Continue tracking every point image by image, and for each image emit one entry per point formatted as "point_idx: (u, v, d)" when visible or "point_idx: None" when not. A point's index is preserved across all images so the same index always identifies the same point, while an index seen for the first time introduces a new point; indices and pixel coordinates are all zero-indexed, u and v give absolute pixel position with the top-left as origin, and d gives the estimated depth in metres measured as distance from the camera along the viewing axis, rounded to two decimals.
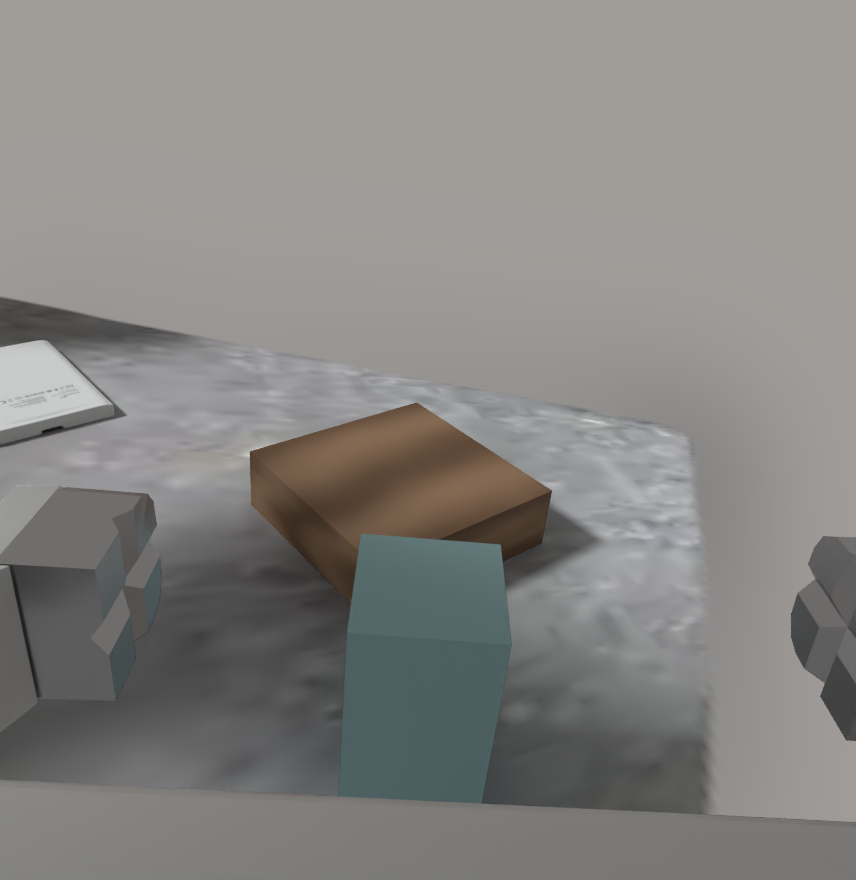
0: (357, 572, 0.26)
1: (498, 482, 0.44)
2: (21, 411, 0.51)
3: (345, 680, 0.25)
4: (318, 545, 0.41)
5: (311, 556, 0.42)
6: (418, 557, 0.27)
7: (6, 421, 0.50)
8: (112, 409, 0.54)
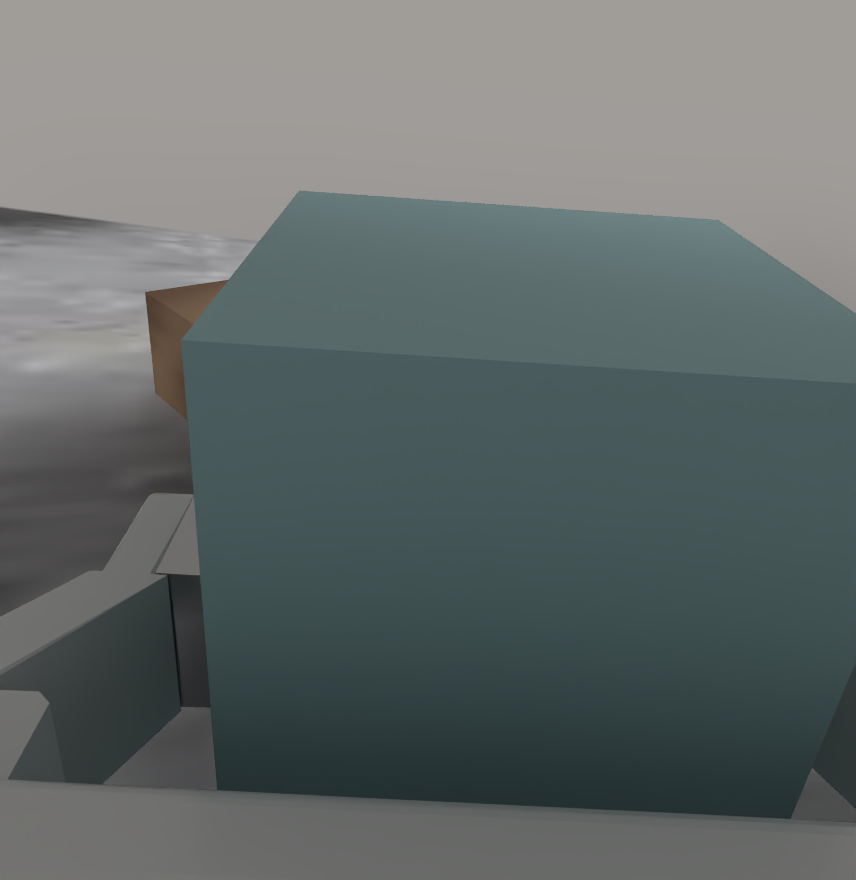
0: (272, 234, 0.07)
1: None
2: None
3: (205, 596, 0.06)
4: None
5: None
6: (478, 224, 0.08)
7: None
8: None
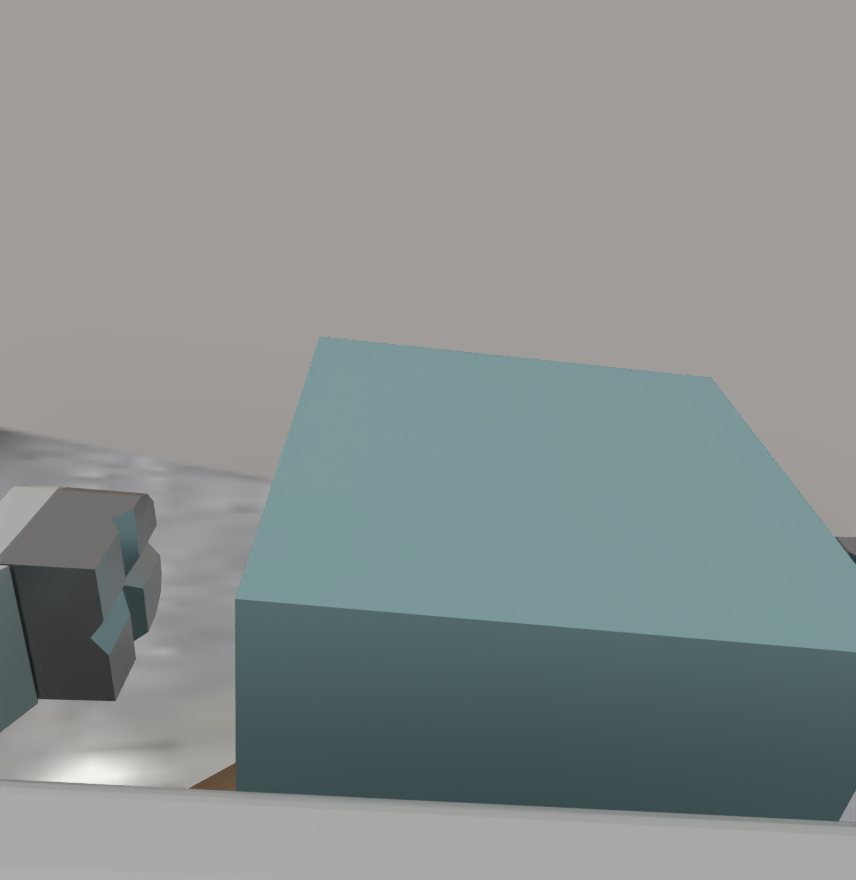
0: (301, 415, 0.08)
1: None
2: None
3: None
4: None
5: None
6: (491, 390, 0.09)
7: None
8: None
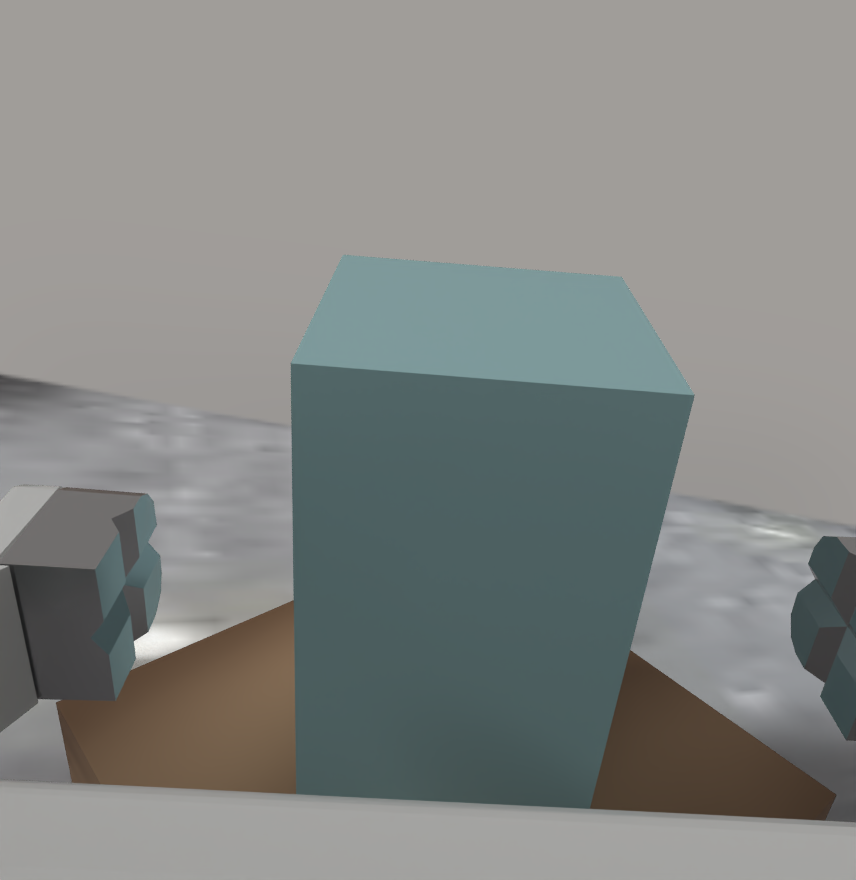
0: (329, 292, 0.12)
1: (693, 772, 0.17)
2: None
3: (294, 500, 0.11)
4: None
5: None
6: (458, 282, 0.13)
7: None
8: None
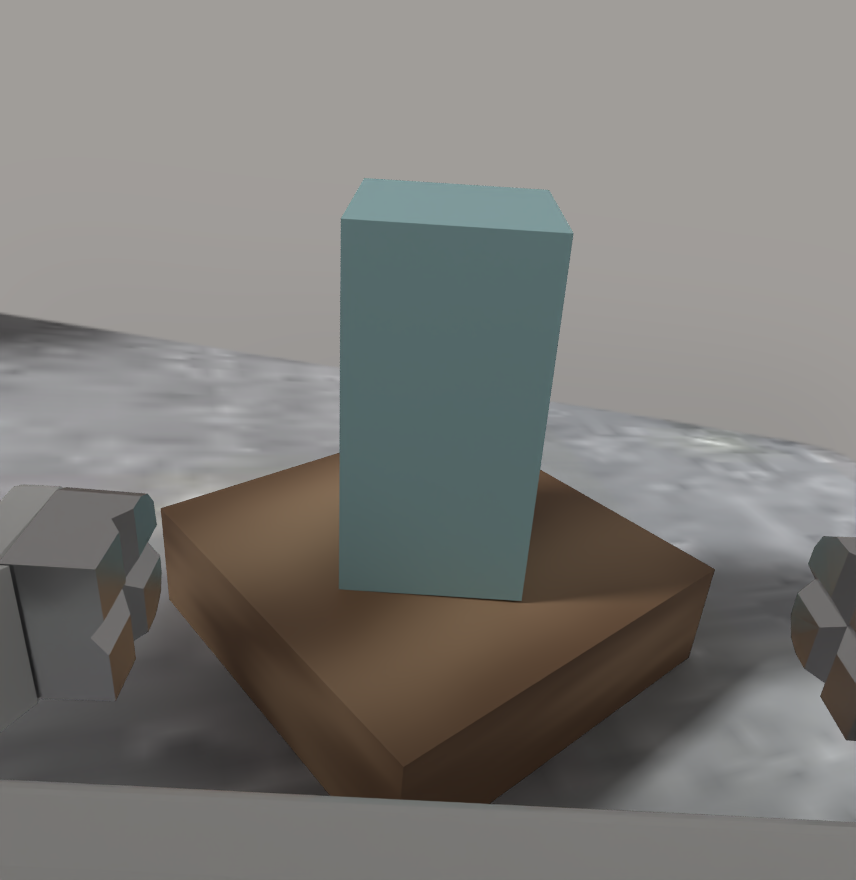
0: (358, 193, 0.20)
1: (615, 555, 0.24)
2: None
3: (341, 308, 0.18)
4: (283, 694, 0.21)
5: (271, 711, 0.22)
6: (440, 190, 0.20)
7: None
8: None
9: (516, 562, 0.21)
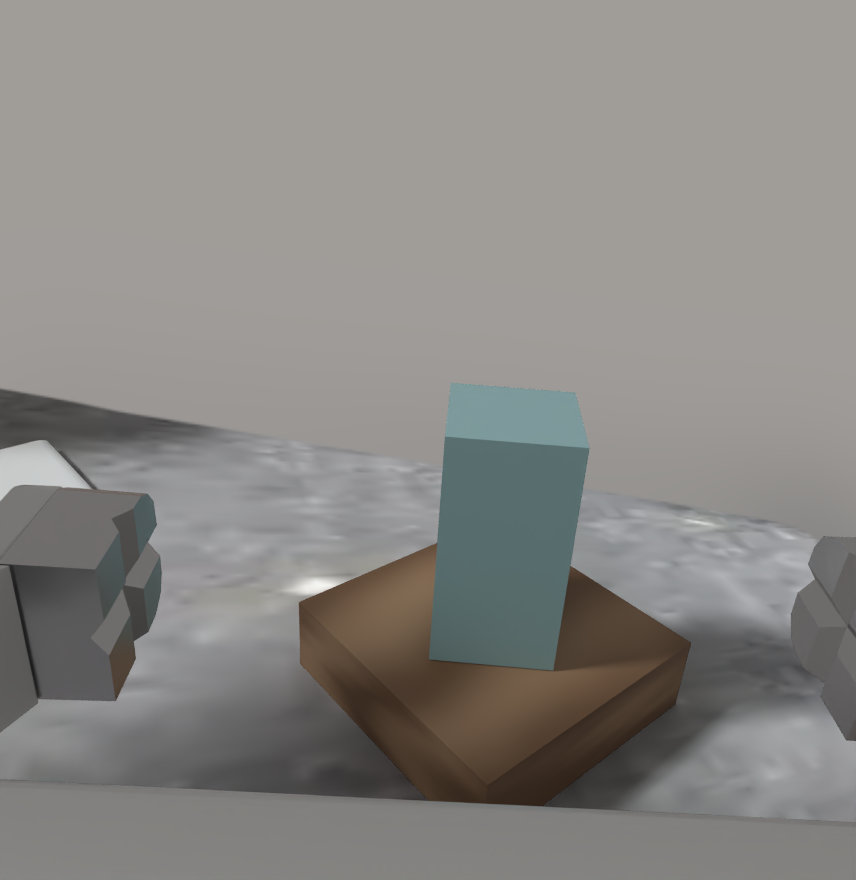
0: (450, 404, 0.30)
1: (620, 633, 0.34)
2: None
3: (442, 486, 0.28)
4: (397, 736, 0.31)
5: (386, 747, 0.32)
6: (502, 397, 0.31)
7: None
8: None
9: (549, 645, 0.31)
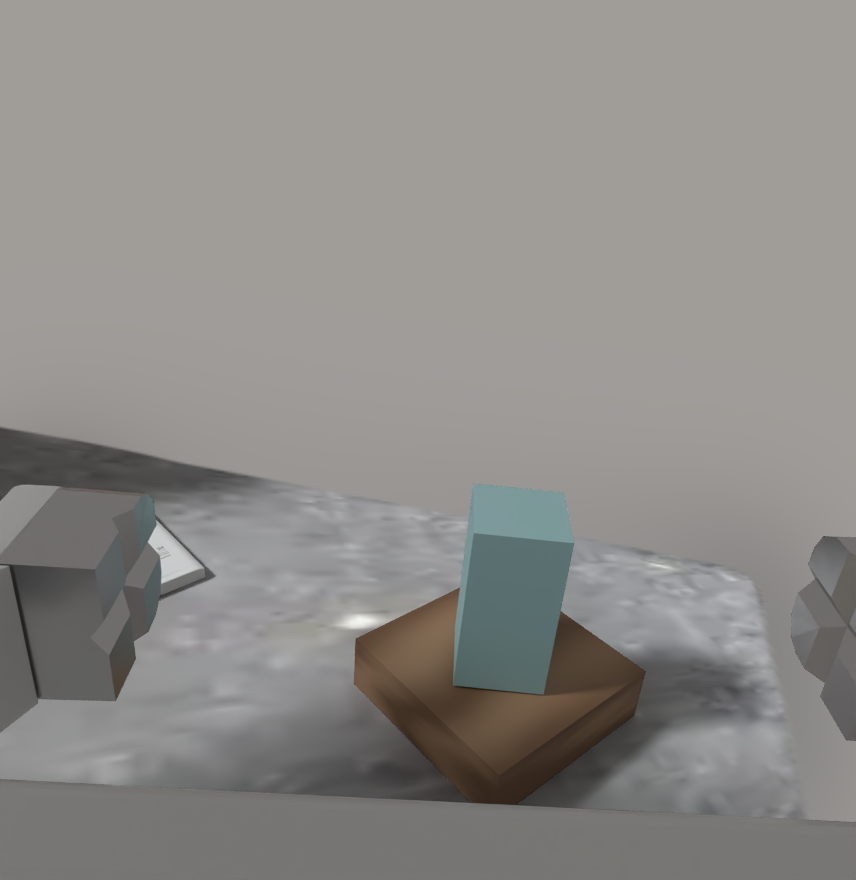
0: (474, 503, 0.42)
1: (593, 663, 0.46)
2: None
3: (469, 566, 0.40)
4: (432, 739, 0.43)
5: (423, 747, 0.44)
6: (511, 497, 0.43)
7: None
8: (203, 572, 0.56)
9: (541, 676, 0.43)
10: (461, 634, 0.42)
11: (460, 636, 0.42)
